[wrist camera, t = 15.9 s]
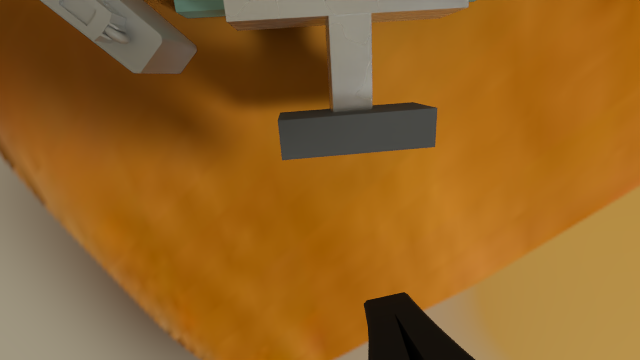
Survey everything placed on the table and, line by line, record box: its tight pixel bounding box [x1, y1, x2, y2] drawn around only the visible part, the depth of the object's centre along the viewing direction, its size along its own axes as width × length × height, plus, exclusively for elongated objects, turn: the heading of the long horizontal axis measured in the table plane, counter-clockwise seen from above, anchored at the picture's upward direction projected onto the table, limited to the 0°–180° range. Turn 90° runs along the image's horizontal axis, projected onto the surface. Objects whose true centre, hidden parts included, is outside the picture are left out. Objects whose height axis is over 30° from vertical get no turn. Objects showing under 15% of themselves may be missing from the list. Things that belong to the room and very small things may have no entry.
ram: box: [223, 0, 469, 160], centre depth 12 cm, size 9×7×4 cm
